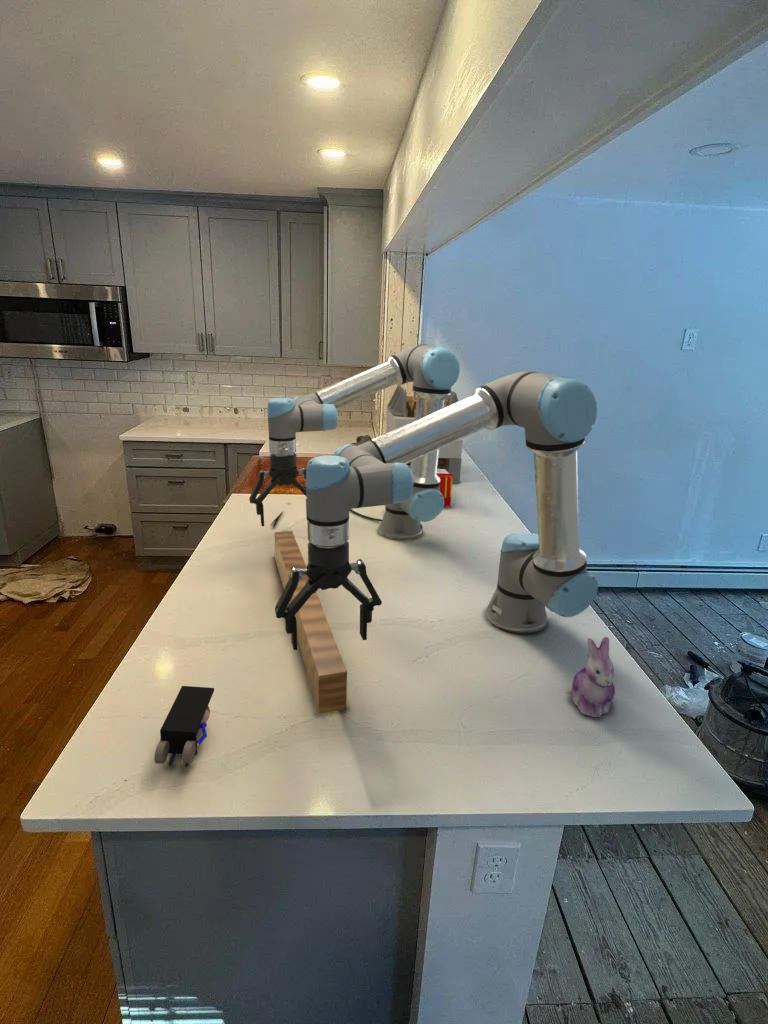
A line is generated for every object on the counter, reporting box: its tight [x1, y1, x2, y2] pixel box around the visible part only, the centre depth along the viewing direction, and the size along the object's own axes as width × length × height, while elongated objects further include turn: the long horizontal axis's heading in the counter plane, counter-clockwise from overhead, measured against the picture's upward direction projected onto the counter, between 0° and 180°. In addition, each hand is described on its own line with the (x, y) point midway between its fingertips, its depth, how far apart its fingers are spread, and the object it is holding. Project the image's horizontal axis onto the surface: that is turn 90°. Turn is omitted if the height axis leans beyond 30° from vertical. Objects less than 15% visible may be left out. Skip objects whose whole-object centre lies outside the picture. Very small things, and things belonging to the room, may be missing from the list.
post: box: [273, 530, 348, 714], centre depth 143 cm, size 74×6×9 cm, turn 17°
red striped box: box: [437, 468, 453, 508], centre depth 240 cm, size 12×13×30 cm
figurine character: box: [153, 685, 215, 768], centre depth 100 cm, size 7×8×15 cm
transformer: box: [385, 385, 464, 484], centre depth 268 cm, size 34×33×41 cm
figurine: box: [570, 636, 616, 718], centre depth 114 cm, size 9×10×15 cm
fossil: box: [351, 434, 372, 445], centre depth 303 cm, size 22×10×15 cm
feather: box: [270, 512, 283, 529], centre depth 212 cm, size 2×28×2 cm
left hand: (285, 522), depth 169 cm, fingers open, 13 cm apart
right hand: (329, 641), depth 110 cm, fingers open, 13 cm apart
